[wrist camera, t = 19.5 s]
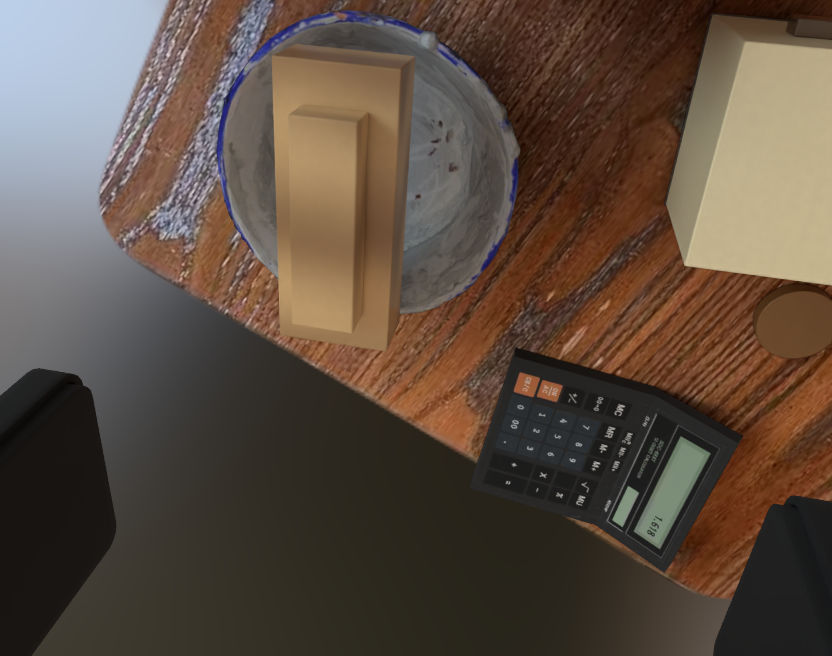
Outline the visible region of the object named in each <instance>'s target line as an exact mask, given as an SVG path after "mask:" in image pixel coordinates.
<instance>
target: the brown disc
mask: <svg viewBox="0 0 832 656" xmlns="http://www.w3.org/2000/svg"><path fill="white" fill-rule="evenodd" d="M753 328H754V331H755V333H756V336H757V338H758V340H759V342H760V344H761V345H762V346H763V347H764V348H765V349H766V350H767V351H768V352H770V353H772V354H774V355H776V356H779V357H783V358H792V359H793V358H803V357H807V356H810V355H813V354H815V353H817V352H819V351H821V350H823V349H824V348H825V347H827V346H828V345H829V344H830V343H831V342H832V299H831V297H830V296H829V295H828V294H827V293H826V292H824V291H823V290H821V289H819V288H817V287H815V286H811V285H806V284H792V285H787V286H784V287H781V288H778V289H776V290H774V291H772V292H771V293H769V294H768V295H767V296H766V297H765V298H763V300H762V301H761V302H760V303H759V305H758V306H757V308H756V310H755V313H754V316H753Z"/></svg>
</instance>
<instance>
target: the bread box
mask: <svg viewBox="0 0 832 656" xmlns="http://www.w3.org/2000/svg"><path fill="white" fill-rule="evenodd" d="M664 205H665V206H667V208H668V211H669V215H670V218H671V222H672V225H673V228H674V232H675V235H676V238H677V242H678V245H679V248H680V252H681V255H682V258H683V262H684V265H685V266H690V267H697V268H705V269H712V270H720V271H727V272H735V273H742V274H750V275H757V276H765V277H772V278H780V279H787V280H795V281H802V282H810V283H817V284H825V285H832V17H822V16H811V15H799V14H791V15H790V17H789V19H778V18H767V17H756V16H745V15H734V14H723V13H712V12H711V13H710V17H709V21H708V25H707V29H706V33H705V37H704V41H703V45H702V50H701V54H700V58H699V62H698V66H697V70H696V74H695V78H694V82H693V86H692V91H691V95H690V99H689V103H688V107H687V111H686V115H685V119H684V123H683V127H682V132H681V136H680V140H679V144H678V148H677V152H676V156H675V160H674V164H673V168H672V173H671V177H670V181H669V185H668V189H667V193H666V197H665V201H664Z"/></svg>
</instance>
